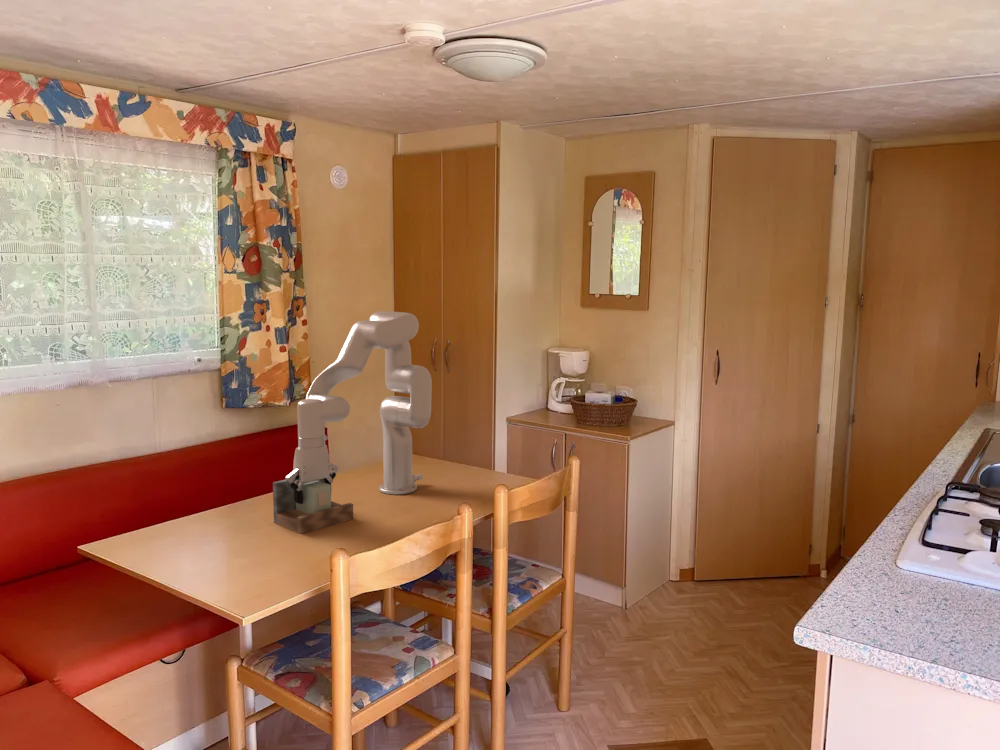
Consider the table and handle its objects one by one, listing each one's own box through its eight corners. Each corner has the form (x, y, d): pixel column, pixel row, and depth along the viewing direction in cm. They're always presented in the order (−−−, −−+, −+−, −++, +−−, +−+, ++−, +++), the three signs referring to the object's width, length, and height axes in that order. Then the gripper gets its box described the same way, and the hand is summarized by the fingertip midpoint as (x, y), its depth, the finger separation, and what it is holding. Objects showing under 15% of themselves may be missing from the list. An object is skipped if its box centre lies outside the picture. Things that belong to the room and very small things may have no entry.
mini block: (313, 504, 232) (312, 478, 231) (331, 511, 226) (331, 485, 225) (295, 509, 228) (295, 482, 227) (314, 516, 222) (313, 489, 220)
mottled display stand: (325, 508, 238) (324, 470, 237) (353, 518, 229) (352, 479, 228) (273, 522, 225) (272, 482, 223) (301, 533, 216) (300, 492, 214)
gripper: (328, 435, 233) (330, 490, 235) (278, 445, 220) (280, 503, 223) (344, 439, 228) (345, 495, 230) (293, 449, 215) (295, 509, 218)
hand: (313, 499), depth 227 cm, fingers open, 9 cm apart
